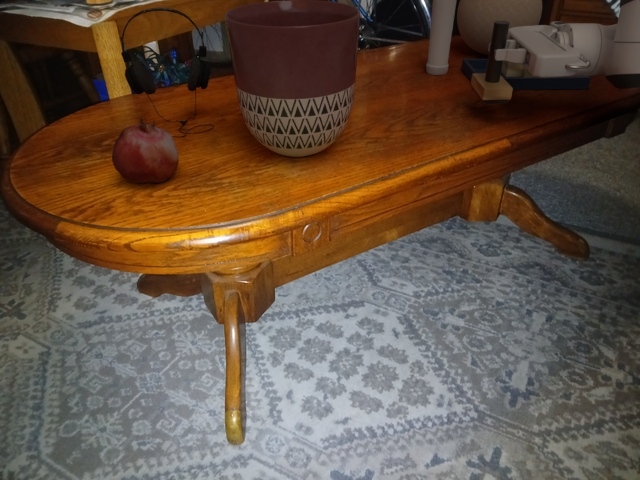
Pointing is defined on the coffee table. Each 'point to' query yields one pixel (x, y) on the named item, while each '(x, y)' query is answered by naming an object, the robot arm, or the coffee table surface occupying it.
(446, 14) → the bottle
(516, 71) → the crumb
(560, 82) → the tray
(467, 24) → the decorative sphere
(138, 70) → the headphones
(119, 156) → the fruit
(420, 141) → the coffee table surface
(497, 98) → the brush
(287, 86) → the planter
